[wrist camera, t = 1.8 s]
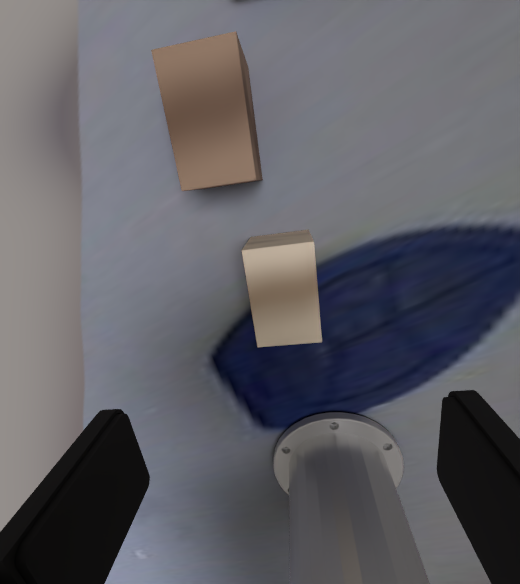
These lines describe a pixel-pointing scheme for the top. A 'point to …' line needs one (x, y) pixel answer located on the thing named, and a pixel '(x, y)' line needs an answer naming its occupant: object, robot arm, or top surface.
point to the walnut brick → (209, 111)
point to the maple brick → (283, 288)
